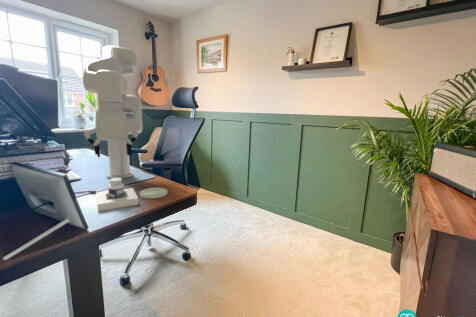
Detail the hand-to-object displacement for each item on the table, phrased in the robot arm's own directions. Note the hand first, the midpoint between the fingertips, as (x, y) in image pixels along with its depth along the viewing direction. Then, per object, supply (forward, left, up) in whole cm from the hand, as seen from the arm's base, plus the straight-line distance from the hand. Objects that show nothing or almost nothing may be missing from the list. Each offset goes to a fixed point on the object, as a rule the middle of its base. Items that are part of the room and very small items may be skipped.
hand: (114, 155), depth 84 cm
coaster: (-2, +14, -18) cm, 23 cm away
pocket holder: (0, 0, -18) cm, 18 cm away
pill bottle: (0, 0, -18) cm, 18 cm away
